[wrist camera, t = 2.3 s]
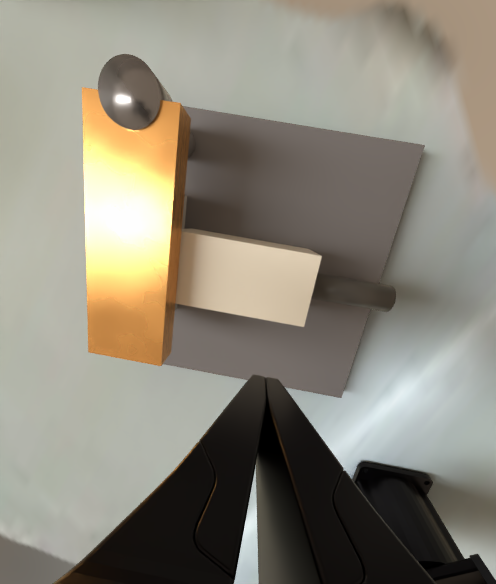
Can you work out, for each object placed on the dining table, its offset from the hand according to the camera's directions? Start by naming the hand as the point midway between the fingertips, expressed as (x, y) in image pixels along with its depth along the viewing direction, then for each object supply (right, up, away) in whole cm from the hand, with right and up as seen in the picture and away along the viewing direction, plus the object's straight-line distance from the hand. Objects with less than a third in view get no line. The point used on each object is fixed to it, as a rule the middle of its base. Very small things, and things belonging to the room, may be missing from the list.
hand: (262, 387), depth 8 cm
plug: (+2, +4, +9) cm, 10 cm away
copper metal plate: (-6, +6, +5) cm, 10 cm away
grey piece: (+1, +5, +10) cm, 11 cm away
